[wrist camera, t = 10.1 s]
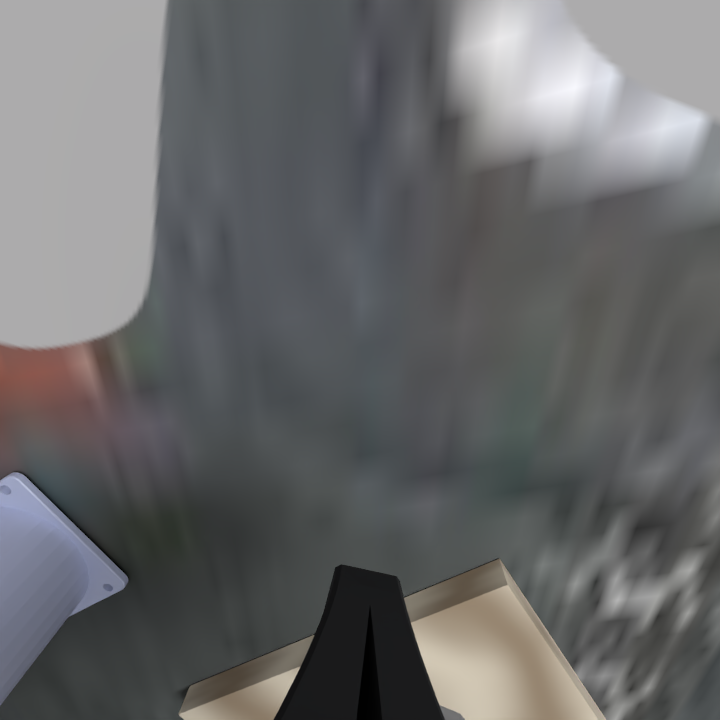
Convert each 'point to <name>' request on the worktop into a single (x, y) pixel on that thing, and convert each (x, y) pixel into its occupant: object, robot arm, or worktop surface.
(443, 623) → the plate
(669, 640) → the worktop surface
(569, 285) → the worktop surface
